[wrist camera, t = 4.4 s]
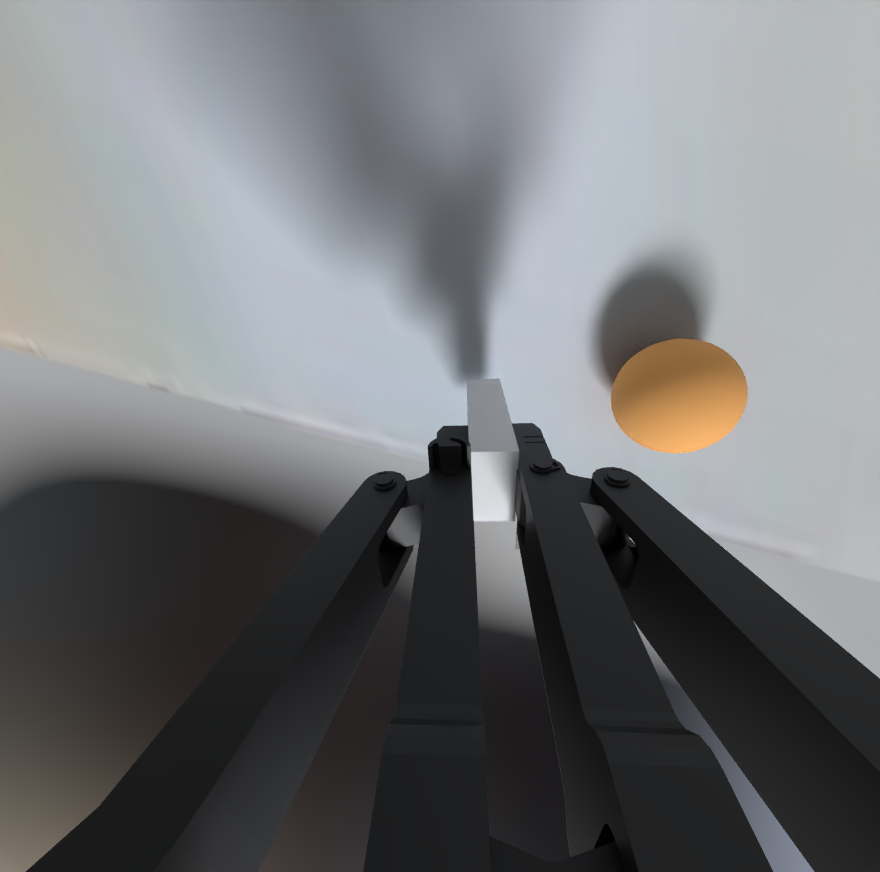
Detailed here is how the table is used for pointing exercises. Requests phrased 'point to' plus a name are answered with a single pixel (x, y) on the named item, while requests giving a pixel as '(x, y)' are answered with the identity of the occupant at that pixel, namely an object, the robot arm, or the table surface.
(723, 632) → the robot arm
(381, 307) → the table surface
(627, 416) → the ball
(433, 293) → the table surface
